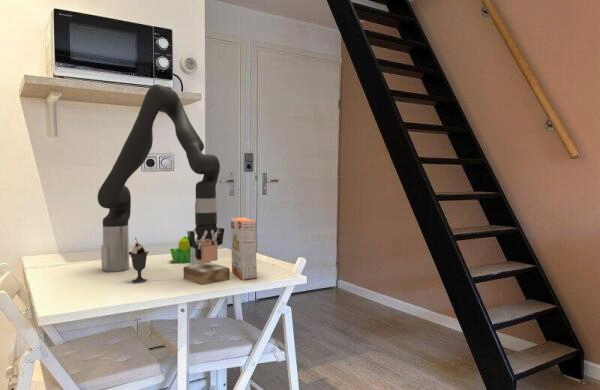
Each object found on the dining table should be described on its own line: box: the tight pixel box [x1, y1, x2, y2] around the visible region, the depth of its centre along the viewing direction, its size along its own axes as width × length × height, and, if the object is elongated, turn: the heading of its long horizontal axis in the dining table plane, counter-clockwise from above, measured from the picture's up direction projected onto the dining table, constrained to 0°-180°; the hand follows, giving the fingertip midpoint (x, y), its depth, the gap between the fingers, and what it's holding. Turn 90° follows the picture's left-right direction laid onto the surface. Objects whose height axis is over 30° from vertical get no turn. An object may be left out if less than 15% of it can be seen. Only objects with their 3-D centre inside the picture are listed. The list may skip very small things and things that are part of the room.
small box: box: [189, 238, 211, 265], centre depth 182 cm, size 8×6×10 cm
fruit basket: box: [169, 235, 190, 264], centre depth 188 cm, size 11×9×11 cm
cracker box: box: [230, 216, 258, 281], centre depth 162 cm, size 14×6×21 cm, turn 23°
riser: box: [183, 261, 231, 286], centre depth 158 cm, size 11×13×4 cm
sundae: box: [129, 237, 150, 284], centre depth 154 cm, size 7×7×15 cm
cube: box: [196, 242, 218, 263], centre depth 157 cm, size 6×6×6 cm
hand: (206, 258), depth 157 cm, fingers closed on cube, 5 cm apart
